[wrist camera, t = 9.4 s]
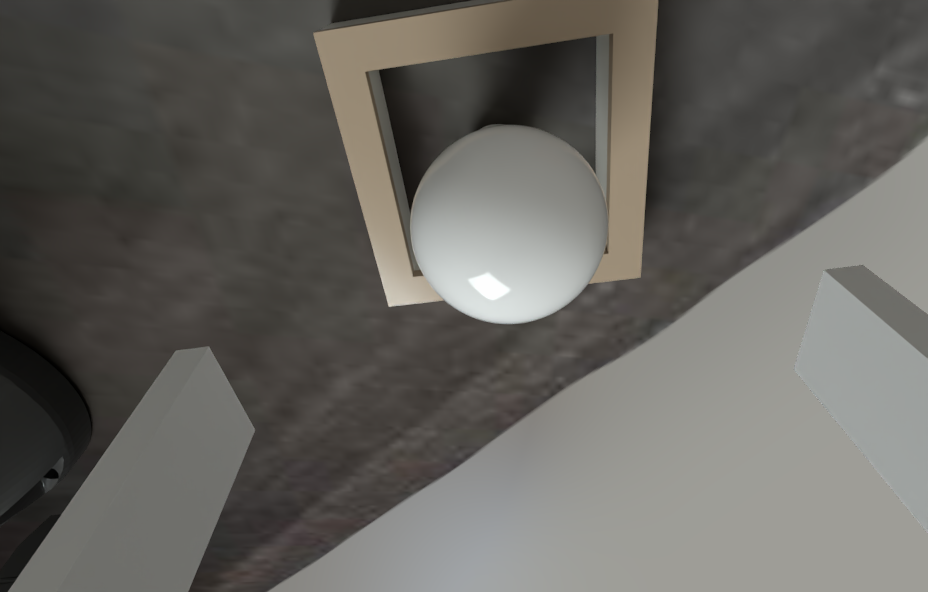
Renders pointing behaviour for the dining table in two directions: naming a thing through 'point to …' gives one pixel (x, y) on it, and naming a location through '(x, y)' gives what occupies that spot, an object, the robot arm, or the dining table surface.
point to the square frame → (476, 32)
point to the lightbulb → (509, 224)
